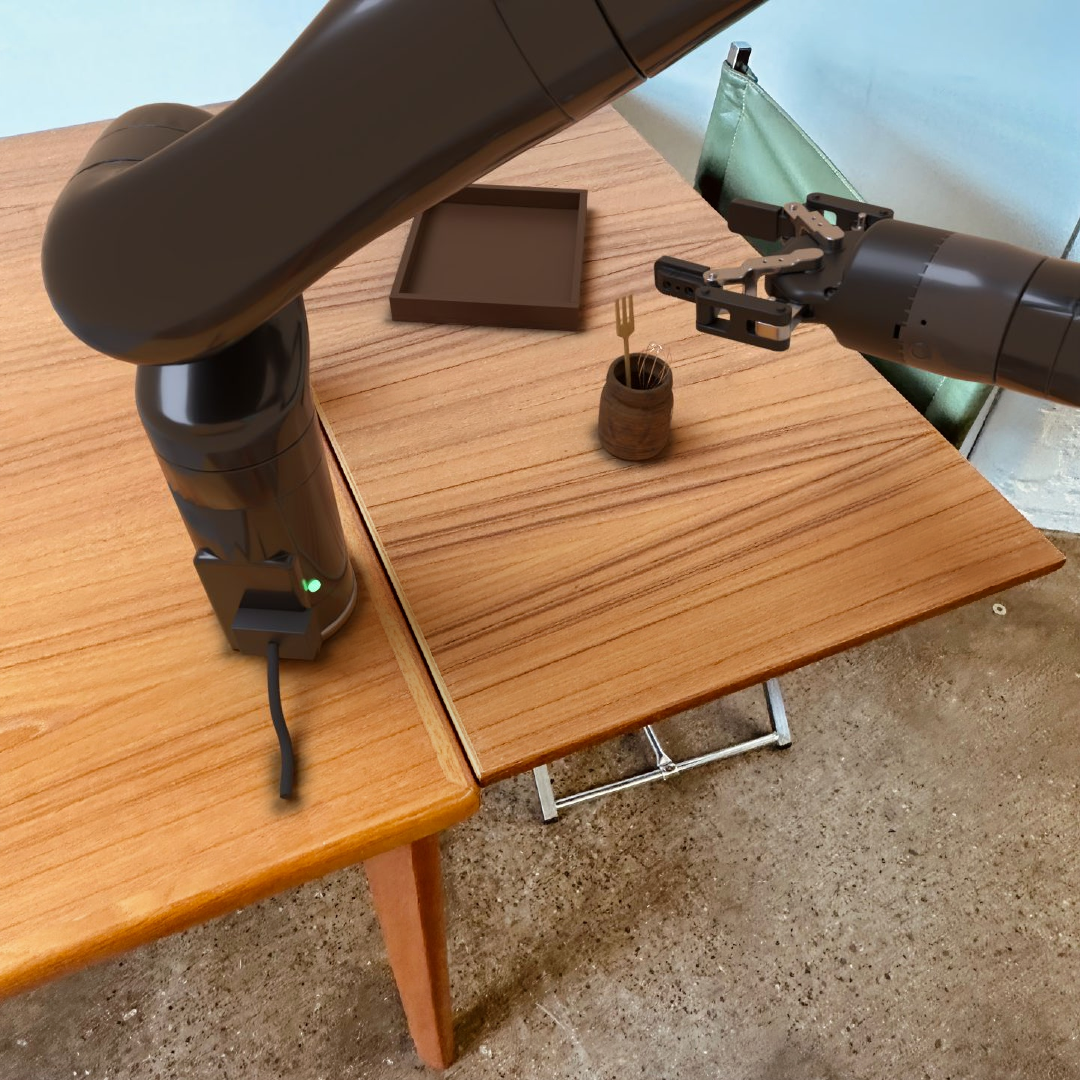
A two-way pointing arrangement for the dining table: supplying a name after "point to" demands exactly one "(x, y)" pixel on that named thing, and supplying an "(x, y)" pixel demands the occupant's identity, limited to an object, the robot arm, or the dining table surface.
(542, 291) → the tray
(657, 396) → the utensil holder
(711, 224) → the dining table surface
